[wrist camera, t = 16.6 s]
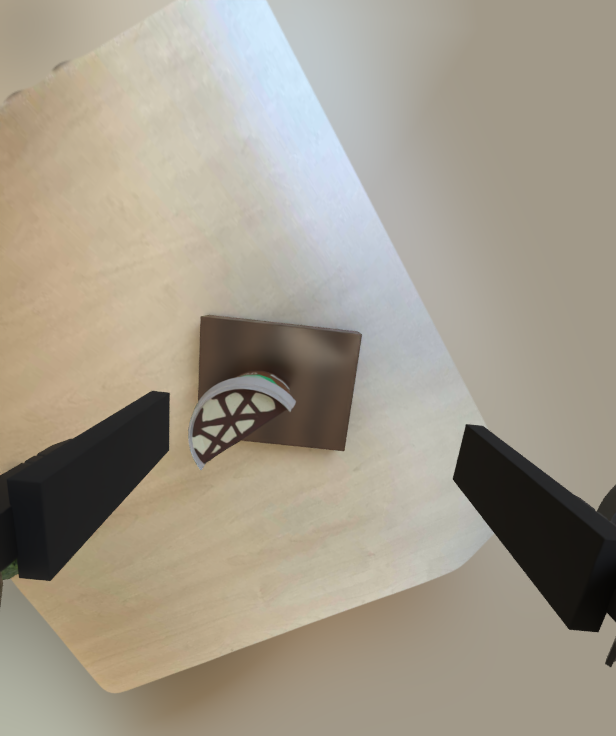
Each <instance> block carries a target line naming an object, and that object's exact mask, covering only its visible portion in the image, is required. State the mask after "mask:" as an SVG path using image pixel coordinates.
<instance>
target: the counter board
mask: <svg viewBox="0 0 616 736" xmlns="http://www.w3.org/2000/svg"><path fill="white" fill-rule="evenodd" d="M361 337H362V334H360V333H359V332H357V331H348V330H339V329H330V328H321V327H312V326H303V325H294V324H285V323H276V322H267V321H258V320H249V319H240V318H231V317H222V316H214V315H206V316H201V324H200V357H199V390H198V401H199V400H200V398H201V397H202V396H203V395H204V394H205V393H206V392H207V391H208V390H209V389H210V388H212V387H213V386H215V385H217V384H218V383H220V382H223V381H225V380H228V379H232V378H236V377H237V376H239V375H240V374H242V373H245V372H248V371H265V372H269V373H272V374H274V375H276V376H277V377H279V378H280V379H282V380H283V381H284V382H285V383H286V384H287V385H288V386H289V389H290V395H291V396H292V398H293V399H294V400H295V401H296V403H295V405H294V407H293V408H292V409H291V412H290V411H289V410H288V409H287V410H285V411H284V412H282V413H281V414H279V415H278V416H276V417H275V418H273V419H272V420H270V421H269V422H267V423H266V424H264V425H263V426H261V427H260V428H258V429H257V430H256V431H254V432H253V433H251V434H250V435H248V436H247V437H246V438H244V439H242V441H252V442H261V443H271V444H281V445H290V446H300V447H310V448H319V449H329V450H338V451H344V450H345V444H346V437H347V430H348V424H349V417H350V410H351V404H352V397H353V390H354V384H355V377H356V371H357V364H358V357H359V351H360V344H361Z"/></svg>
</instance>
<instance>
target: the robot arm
mask: <svg viewBox="0 0 616 736" xmlns="http://www.w3.org/2000/svg"><path fill="white" fill-rule="evenodd" d="M169 401H170V393H167V392H157V391H151V392H149V393H148V394H146V395H144V396H143V397H141V398H139V399H138V400H136V401H135V402H133V403H131V404H130V405H128V406H126V407H125V408H123V409H121V410H120V411H118V412H116V413H115V414H113V415H111V416H110V417H108V418H106V419H105V420H103V421H102V422H100V423H98V424H97V425H95V426H93V427H92V428H90V429H88V430H87V431H85V432H83V433H82V434H80V435H78V436H77V437H75V438H74V439H69V440H66V441H63V442H60V443H57V444H55V445H52V446H50V447H48V448H47V449H45V450H43V451H42V452H40V453H38V454H37V456H33V457H31V458H30V459H28V460H26V461H25V463H21V464H19V465H18V466H16V467H14V468H12V469H11V470H9V471H7V472H6V473H4V474H2V475H0V605H1V596H2V586H3V581H2V574H1V572H2V571H3V570H4V569H5V568H6V567H7V566H8V565H9V564H10V563H12V562H13V561H14V560H15V559H16V558H17V565H18V573H19V578H25V579H35V580H46V581H51V580H52V579H53V578H54V576H55V575H56V574H57V573H58V572H59V571H60V570H61V569H62V568H63V567H64V565H65V564H66V563H67V562H68V561H69V560H70V559H71V558H72V557H73V556H74V554H75V553H76V552H77V551H78V550H79V549H80V548H81V547H82V546H83V545H84V543H85V542H86V541H87V540H88V539H89V538H90V537H91V536H92V535H93V533H94V532H95V531H96V530H97V529H98V528H99V527H100V526H101V525H102V524H103V522H104V521H105V520H106V519H107V518H108V517H109V516H110V515H111V514H112V513H113V511H114V510H115V509H116V508H117V507H118V506H119V505H120V504H121V503H122V502H123V500H124V499H125V498H126V497H127V496H128V495H129V494H130V493H131V492H132V491H133V489H134V488H135V487H136V486H137V485H138V484H139V483H140V482H141V481H142V480H143V478H144V477H145V476H146V475H147V474H148V473H149V472H150V471H151V470H152V469H153V467H154V466H155V465H156V464H157V463H158V462H159V461H160V460H161V459H162V457H163V456H164V455H165V454H166V453H167V452H168V451H169ZM453 480H454V482H455V483H456V484H457V485H458V487H459V488H460V489H461V491H462V492H463V493H464V494H465V496H466V497H467V498H468V500H469V501H470V502H471V504H472V505H473V506H474V507H475V509H476V510H477V511H478V513H479V514H480V515H481V516H482V518H483V519H484V520H485V522H486V523H487V524H488V525H489V527H490V528H491V529H492V531H493V532H494V533H495V534H496V536H497V537H498V538H499V540H500V541H501V542H502V544H503V545H504V546H505V547H506V549H507V550H508V551H509V553H511V555H512V556H513V558H514V559H515V560H516V562H517V563H518V564H519V565H520V567H521V568H522V569H523V571H524V572H525V573H526V574H527V576H528V577H529V578H530V580H531V581H532V582H533V584H534V585H535V586H536V587H537V588H538V590H539V591H540V592H541V594H542V595H543V596H544V598H545V599H546V600H547V601H548V603H549V604H550V605H551V607H552V608H553V609H554V611H555V612H556V613H557V615H558V616H559V617H560V618H561V620H562V621H563V622H564V624H565V625H566V626H567V627H568V629H569V630H579V631H590V632H599V630H600V627H601V625H602V622H603V620H604V618H605V615H606V613H608V614H609V615H610V616H611V617H612V619H613V620H614V621H615V622H616V525H615V524H614V523H613V522H611V521H608V519H607V518H606V517H605V516H603V515H602V514H601V513H599V512H597V511H595V509H594V508H593V507H591V506H590V505H589V504H587V503H586V502H585V501H583V500H582V499H581V498H579V497H577V496H575V495H573V494H572V493H571V492H569V491H568V490H567V489H566V488H564V487H563V486H562V485H560V484H559V483H558V482H556V481H555V480H554V479H552V478H551V477H550V476H548V475H547V474H546V473H544V472H543V471H542V470H541V469H539V468H538V467H537V466H535V465H534V464H533V463H531V462H530V461H529V460H527V459H526V458H525V457H523V456H522V455H521V454H519V453H518V452H517V451H515V450H514V449H513V448H511V447H510V446H509V445H507V444H506V443H505V442H504V441H502V440H500V438H498V437H497V436H495V435H494V434H493V433H492V432H490V431H489V430H488V429H486V428H485V427H484V426H478V425H469V424H466V427H465V431H464V435H463V439H462V443H461V447H460V451H459V455H458V460H457V464H456V468H455V472H454V476H453ZM615 661H616V638H615V640H614V642H613V645H612V647H611V649H610V652H609V654H608V656H607V659H606V662H605V664H607V665H608V666H610V667H611V666H612V664H613V662H615Z"/></svg>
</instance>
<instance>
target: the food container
mask: <svg viewBox="0 0 616 736" xmlns="http://www.w3.org/2000/svg"><path fill="white" fill-rule="evenodd" d="M295 403H296V401H295V400H294V399H293V398H292V396H291V395H290V389H289V386H288V385H287V384H286V383H285V382H284V381H283V380H282V379H280V378H279V377H277V376H276V375H274V374H272V373H269V372H265V371H248V372H245V373H242V374H240V375H239V376H237V377H236V378H232V379H228V380H225V381H223V382H220V383H218V384H217V385H215V386H213V387H212V388H210V389H209V390H208V391H207V392H206V393H205V394H204V395H203V396H202V397H201V398H200V400H199V401H198V403H197V405H196V407H195V409H194V412H193V414H192V417H191V420H190V423H189V429H188V439H189V447H190V451H191V454H192V457H193V459H194V461H195V463H196V464H197V466H198V467H199V469H200V470H202V468H203V467H204V465H205V464H206V463H207V462H208V461H210V460H211V459H212V458H214V457H215V456H217V455H218V454H220V453H221V452H223V451H224V450H226V449H228V448H229V447H231V446H232V445H234V444H236V443H237V442H239V441H241V440H242V439H244V438H246V437H247V436H248V435H250V434H251V433H253V432H254V431H256V430H257V429H258V428H260V427H261V426H263V425H264V424H266V423H267V422H269V421H270V420H272V419H273V418H275V417H276V416H278V415H279V414H281V413H282V412H284V411H285V410H287V409H288V410H289V411H290V412H291V409H292V408H293V407H294V405H295Z"/></svg>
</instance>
